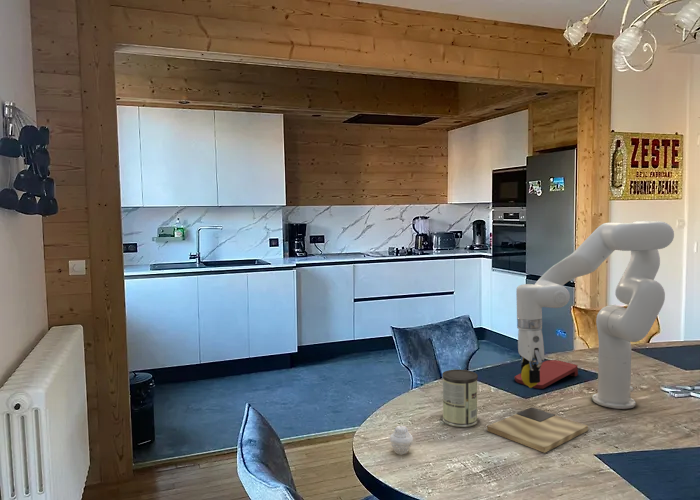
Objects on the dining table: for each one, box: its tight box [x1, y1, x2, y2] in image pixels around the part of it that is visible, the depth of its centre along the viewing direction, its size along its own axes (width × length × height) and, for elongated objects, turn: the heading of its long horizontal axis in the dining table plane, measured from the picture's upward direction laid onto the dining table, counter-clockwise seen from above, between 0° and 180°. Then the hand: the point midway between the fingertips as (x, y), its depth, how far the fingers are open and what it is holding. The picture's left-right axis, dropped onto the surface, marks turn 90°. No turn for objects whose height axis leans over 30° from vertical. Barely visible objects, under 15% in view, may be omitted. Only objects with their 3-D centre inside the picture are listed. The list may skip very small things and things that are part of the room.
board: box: [486, 406, 589, 454], centre depth 151 cm, size 22×18×2 cm
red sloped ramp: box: [514, 359, 579, 389], centre depth 198 cm, size 12×5×25 cm
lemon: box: [520, 363, 537, 389], centre depth 170 cm, size 6×6×8 cm
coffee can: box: [441, 369, 479, 428], centre depth 159 cm, size 10×10×14 cm
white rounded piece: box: [389, 425, 414, 455], centre depth 139 cm, size 6×6×7 cm
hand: (530, 378), depth 170 cm, fingers closed on lemon, 5 cm apart
